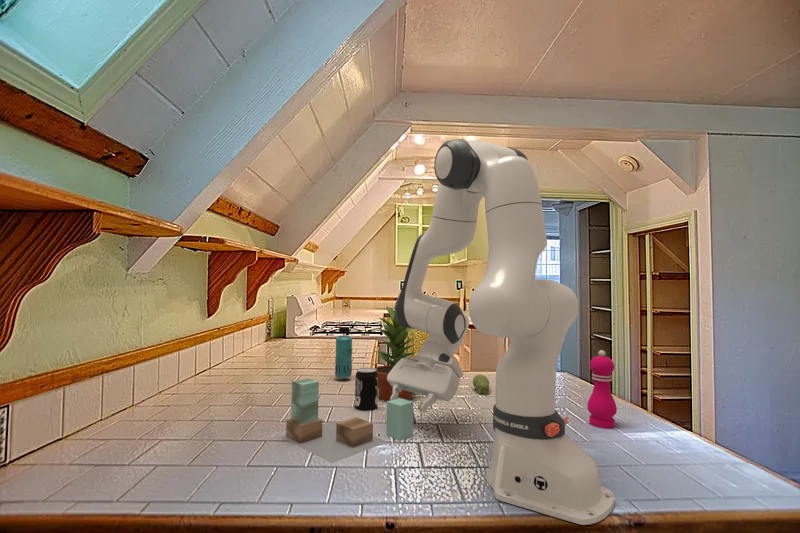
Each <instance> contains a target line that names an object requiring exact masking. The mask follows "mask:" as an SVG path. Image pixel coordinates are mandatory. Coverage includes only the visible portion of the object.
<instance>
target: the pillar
mask: <svg viewBox="0 0 800 533" xmlns="http://www.w3.org/2000/svg"><path fill="white" fill-rule="evenodd" d="M413 429H414V401H412V400H405V399H401V398H398V399H395V400H391V401H386V436H388V437H391V438H393V439H395V440H399V441H402V440H405V439H407V438H409V437H412V436H413V435H414V430H413Z"/></svg>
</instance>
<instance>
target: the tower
mask: <svg viewBox="0 0 800 533" xmlns="http://www.w3.org/2000/svg"><path fill="white" fill-rule="evenodd" d="M319 384H320V383H319V381H318V380H314V379H311V378H303V379H297V380H292V381H291V397H290V398H291V403H290V404H291V406H290V408H291V412H290V418H288V419H286V420H285V421H286V424H285V426H286V429H285V433H286V434H285V435H286V437H288V438H290V439H292V440H294V441H296V442H298V443H300V444H301V443H304V442H308V441H311V440H314V439H317V438H320V437H322V424H323V419H322V418H319V392H320V391H319V389H320V388H319V387H320V385H319Z"/></svg>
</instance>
